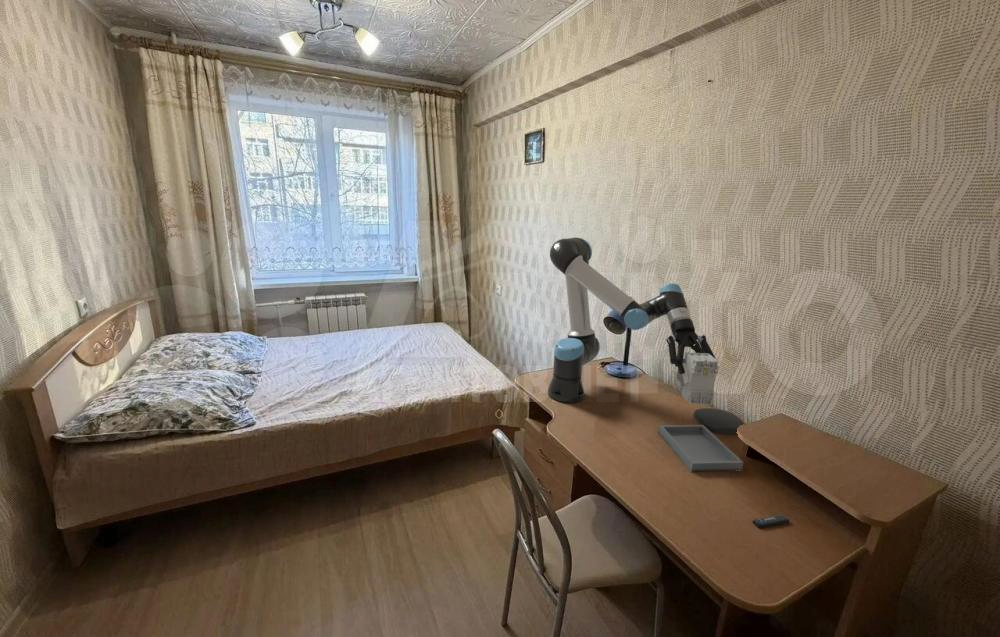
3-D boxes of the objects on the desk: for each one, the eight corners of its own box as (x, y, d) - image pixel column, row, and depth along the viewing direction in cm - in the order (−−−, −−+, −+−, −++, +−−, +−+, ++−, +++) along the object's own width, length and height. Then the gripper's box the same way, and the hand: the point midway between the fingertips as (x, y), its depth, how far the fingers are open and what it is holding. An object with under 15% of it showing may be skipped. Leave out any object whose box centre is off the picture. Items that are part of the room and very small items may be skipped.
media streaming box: (708, 434, 144) (710, 427, 143) (689, 414, 158) (690, 407, 157) (749, 435, 144) (751, 427, 143) (726, 414, 158) (728, 407, 157)
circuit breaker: (694, 386, 146) (700, 347, 142) (712, 404, 132) (719, 362, 129) (673, 385, 147) (679, 346, 143) (688, 403, 133) (695, 361, 129)
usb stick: (780, 517, 105) (781, 512, 105) (789, 524, 103) (791, 519, 102) (750, 522, 103) (751, 517, 102) (759, 530, 100) (760, 525, 100)
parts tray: (658, 433, 143) (659, 425, 142) (701, 432, 144) (703, 424, 143) (691, 472, 122) (692, 463, 121) (741, 470, 123) (743, 462, 122)
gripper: (657, 317, 142) (676, 379, 130) (713, 317, 144) (736, 377, 133) (649, 328, 148) (665, 387, 137) (702, 327, 150) (723, 385, 139)
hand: (700, 382), depth 135 cm, fingers closed on circuit breaker, 8 cm apart
